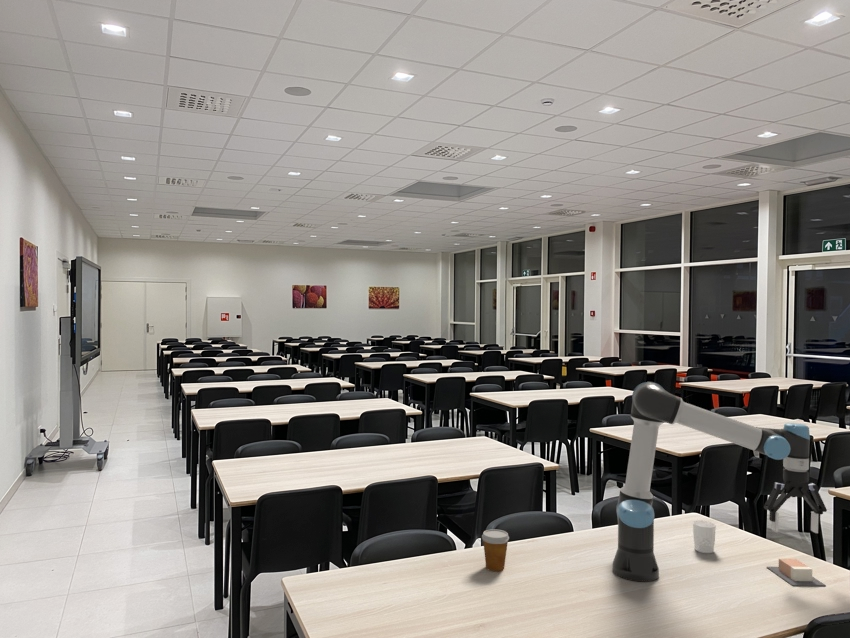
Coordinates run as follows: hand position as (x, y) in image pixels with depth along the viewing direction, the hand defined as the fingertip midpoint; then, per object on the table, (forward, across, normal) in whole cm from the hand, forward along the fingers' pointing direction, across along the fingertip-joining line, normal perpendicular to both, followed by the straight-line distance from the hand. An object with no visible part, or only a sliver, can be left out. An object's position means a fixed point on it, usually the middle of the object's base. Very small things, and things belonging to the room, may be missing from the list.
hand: (794, 531), depth 209 cm
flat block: (+15, 0, 0) cm, 15 cm away
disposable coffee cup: (+17, -102, +5) cm, 103 cm away
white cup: (+16, -20, +24) cm, 35 cm away
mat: (+15, 0, 0) cm, 15 cm away
